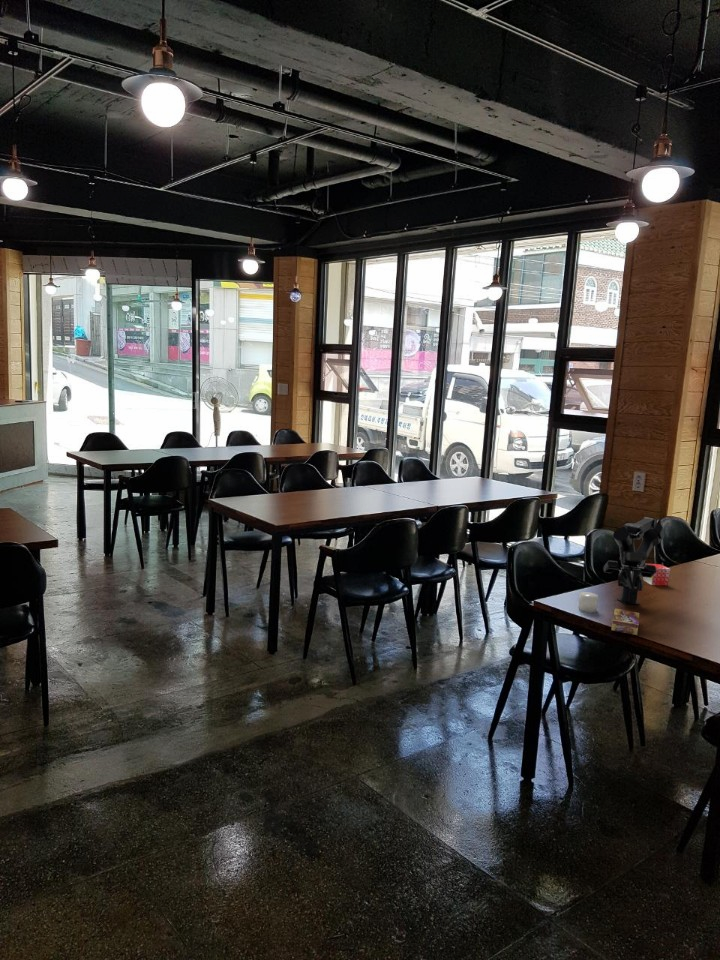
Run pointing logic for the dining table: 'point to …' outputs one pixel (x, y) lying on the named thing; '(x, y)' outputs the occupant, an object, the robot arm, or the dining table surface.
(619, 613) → the candy box
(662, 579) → the puzzle cube
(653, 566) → the robot arm
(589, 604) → the marshmallow
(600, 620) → the dining table surface
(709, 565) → the dining table surface
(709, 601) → the dining table surface
